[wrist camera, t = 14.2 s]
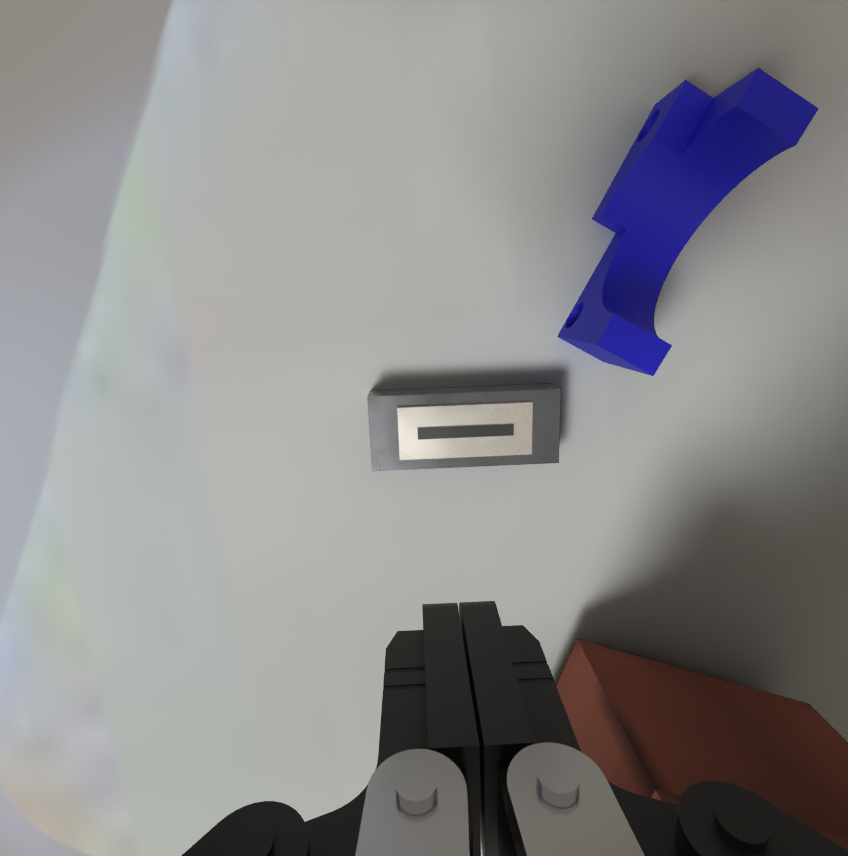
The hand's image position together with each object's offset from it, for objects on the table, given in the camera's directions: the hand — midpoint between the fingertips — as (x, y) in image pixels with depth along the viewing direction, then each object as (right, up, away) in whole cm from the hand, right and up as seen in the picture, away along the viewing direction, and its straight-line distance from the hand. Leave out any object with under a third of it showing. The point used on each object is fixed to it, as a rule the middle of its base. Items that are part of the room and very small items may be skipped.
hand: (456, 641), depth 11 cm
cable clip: (+10, +14, +17) cm, 24 cm away
